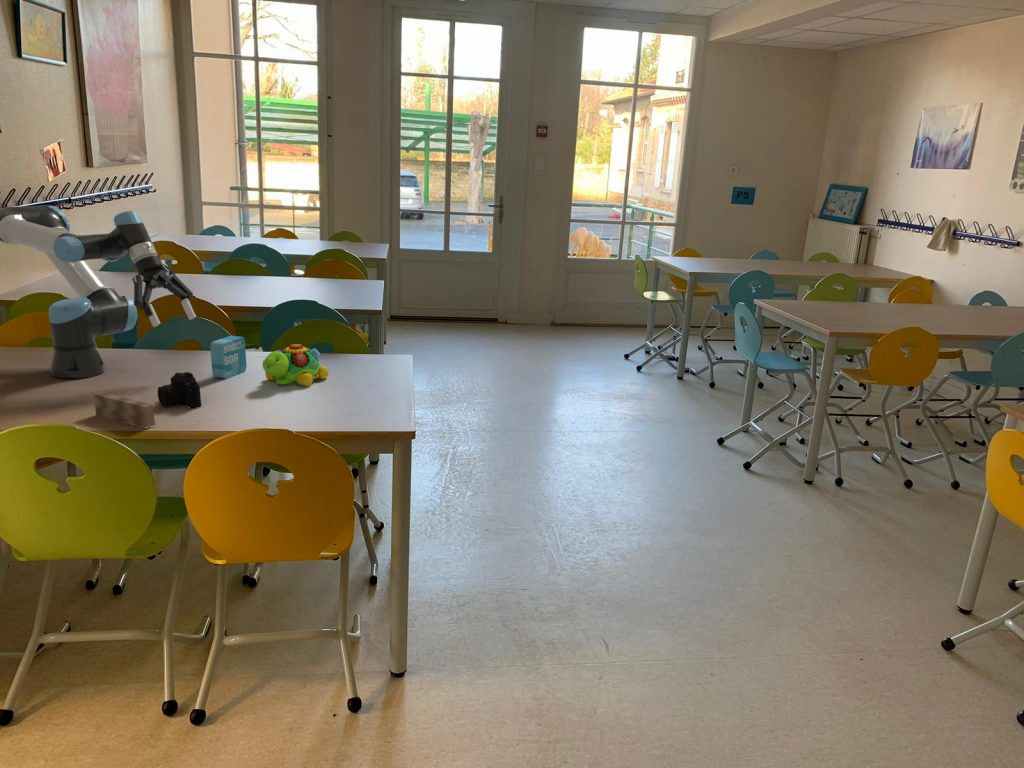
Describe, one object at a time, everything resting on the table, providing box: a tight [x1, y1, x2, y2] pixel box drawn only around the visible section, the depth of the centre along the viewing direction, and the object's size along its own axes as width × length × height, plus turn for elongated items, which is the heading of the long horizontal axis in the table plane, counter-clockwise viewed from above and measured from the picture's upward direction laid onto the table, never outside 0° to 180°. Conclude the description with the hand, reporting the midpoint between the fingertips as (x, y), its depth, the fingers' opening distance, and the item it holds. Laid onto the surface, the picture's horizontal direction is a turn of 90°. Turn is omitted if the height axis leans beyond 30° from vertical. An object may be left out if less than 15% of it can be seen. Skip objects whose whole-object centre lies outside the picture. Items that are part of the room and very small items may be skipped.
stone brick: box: [93, 391, 156, 428], centre depth 200 cm, size 20×2×6 cm, turn 64°
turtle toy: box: [262, 343, 329, 387], centre depth 239 cm, size 17×23×12 cm
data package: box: [209, 335, 247, 380], centre depth 244 cm, size 12×4×12 cm, turn 163°
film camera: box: [157, 371, 203, 409], centre depth 214 cm, size 15×10×9 cm, turn 43°
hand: (175, 321), depth 233 cm, fingers open, 13 cm apart
